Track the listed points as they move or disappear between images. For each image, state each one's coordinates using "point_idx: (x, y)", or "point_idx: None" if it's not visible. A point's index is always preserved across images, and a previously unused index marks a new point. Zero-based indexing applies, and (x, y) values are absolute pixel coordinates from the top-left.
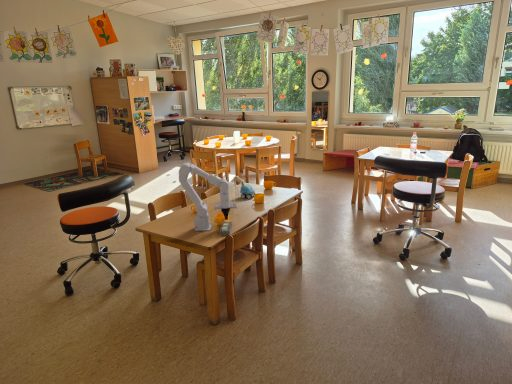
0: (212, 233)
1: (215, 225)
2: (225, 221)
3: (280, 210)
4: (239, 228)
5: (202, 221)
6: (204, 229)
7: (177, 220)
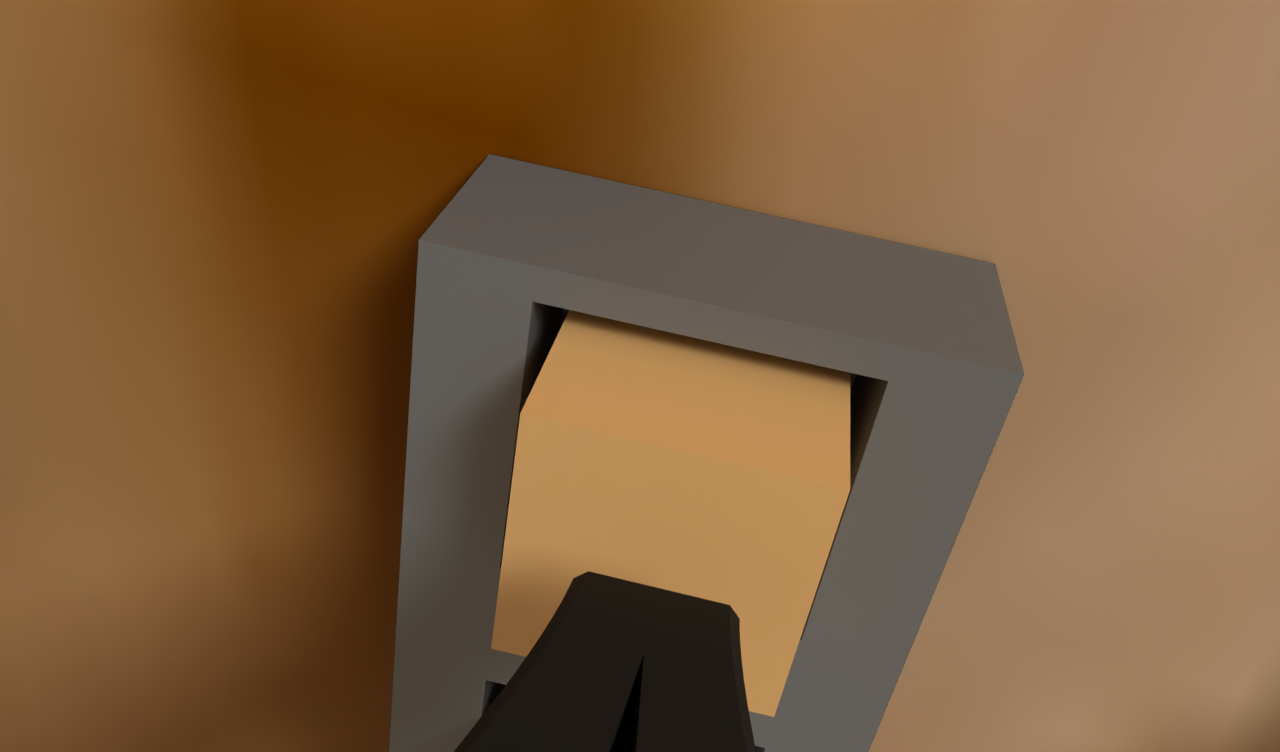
0: (162, 731)
1: (84, 22)
2: None
3: None
4: (1233, 702)
5: None
6: None
7: None
